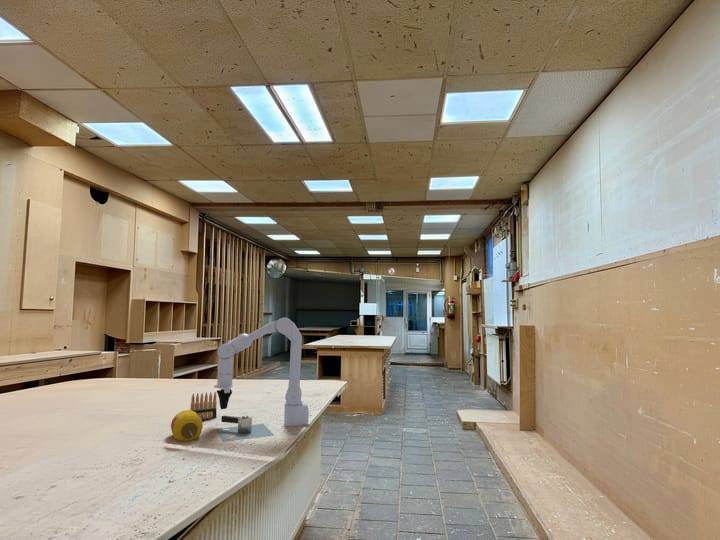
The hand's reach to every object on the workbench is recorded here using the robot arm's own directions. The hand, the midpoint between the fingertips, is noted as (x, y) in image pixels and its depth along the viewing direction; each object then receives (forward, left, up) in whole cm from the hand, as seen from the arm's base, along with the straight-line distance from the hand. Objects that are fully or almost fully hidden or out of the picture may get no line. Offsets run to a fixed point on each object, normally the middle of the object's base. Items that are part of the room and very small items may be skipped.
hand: (223, 408), depth 161 cm
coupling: (-3, +10, -6) cm, 13 cm away
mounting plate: (-6, +13, -8) cm, 16 cm away
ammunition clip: (+6, -15, -8) cm, 18 cm away
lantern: (+14, +10, -8) cm, 19 cm away
